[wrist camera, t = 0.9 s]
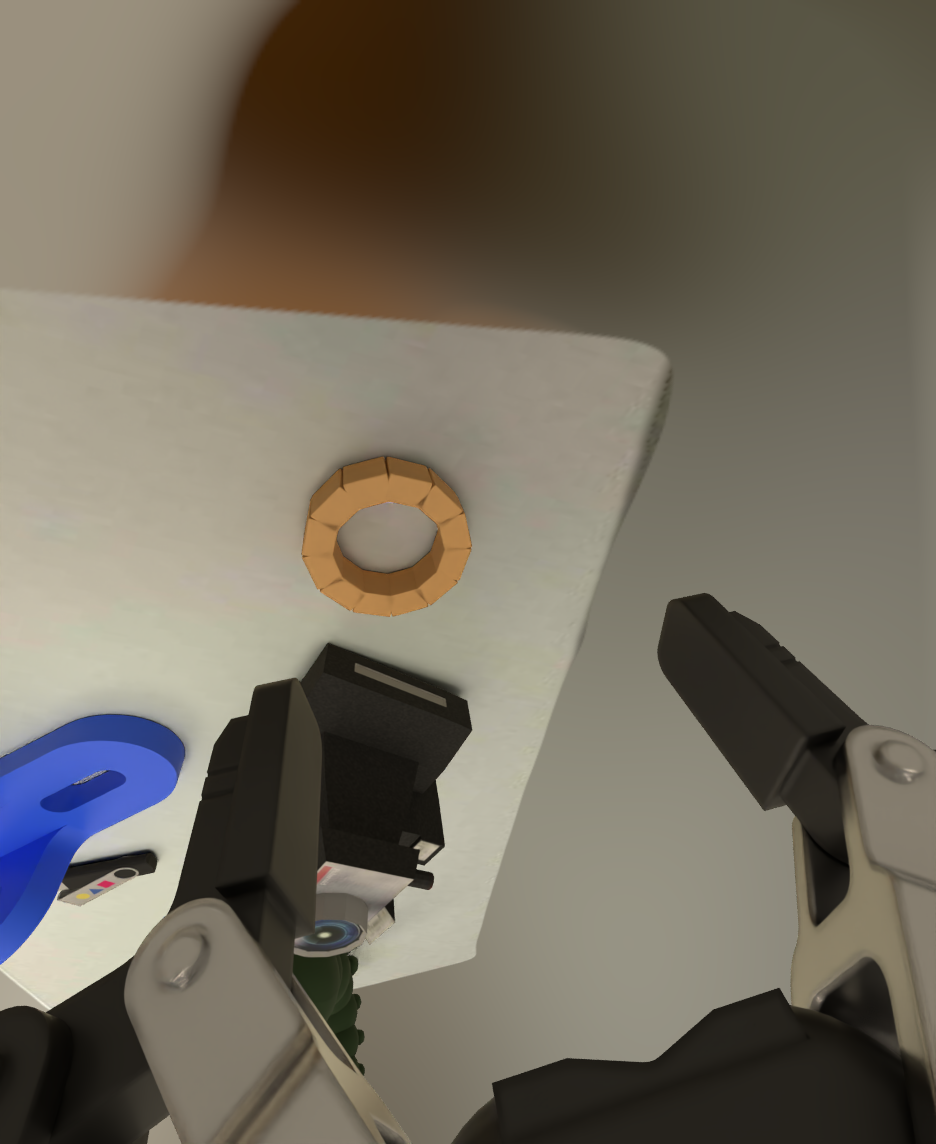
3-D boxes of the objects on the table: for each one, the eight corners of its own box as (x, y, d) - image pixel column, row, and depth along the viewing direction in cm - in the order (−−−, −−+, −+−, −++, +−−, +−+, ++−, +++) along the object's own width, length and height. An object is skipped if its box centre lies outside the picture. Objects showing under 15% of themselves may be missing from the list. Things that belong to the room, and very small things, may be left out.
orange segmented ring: (279, 482, 26) (274, 502, 24) (444, 439, 26) (452, 455, 24) (338, 608, 31) (338, 632, 29) (473, 570, 32) (481, 591, 30)
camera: (294, 837, 21) (542, 892, 27) (329, 633, 33) (496, 703, 39) (170, 984, 27) (398, 1003, 33) (239, 764, 39) (396, 807, 45)
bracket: (19, 849, 38) (-57, 993, 31) (-97, 808, 33) (-220, 968, 26) (210, 755, 36) (177, 883, 29) (118, 697, 31) (51, 834, 24)
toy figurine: (377, 934, 66) (309, 882, 49) (392, 1141, 52) (304, 1166, 35) (310, 956, 65) (219, 910, 49) (307, 1171, 51) (177, 1211, 35)
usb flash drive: (150, 850, 41) (146, 862, 40) (171, 877, 44) (167, 889, 43) (37, 872, 40) (30, 885, 39) (66, 898, 43) (61, 911, 42)
